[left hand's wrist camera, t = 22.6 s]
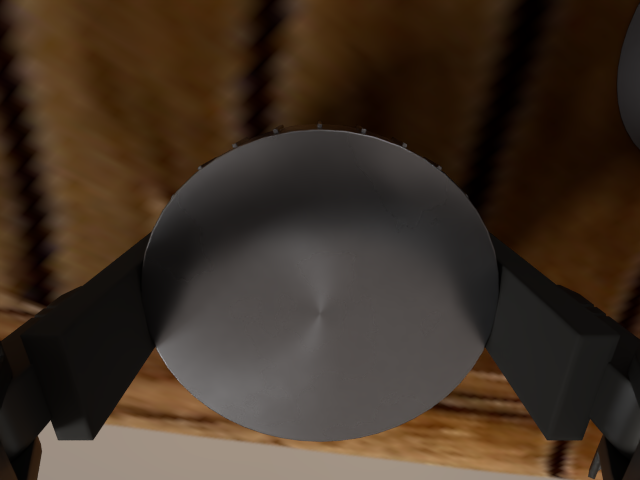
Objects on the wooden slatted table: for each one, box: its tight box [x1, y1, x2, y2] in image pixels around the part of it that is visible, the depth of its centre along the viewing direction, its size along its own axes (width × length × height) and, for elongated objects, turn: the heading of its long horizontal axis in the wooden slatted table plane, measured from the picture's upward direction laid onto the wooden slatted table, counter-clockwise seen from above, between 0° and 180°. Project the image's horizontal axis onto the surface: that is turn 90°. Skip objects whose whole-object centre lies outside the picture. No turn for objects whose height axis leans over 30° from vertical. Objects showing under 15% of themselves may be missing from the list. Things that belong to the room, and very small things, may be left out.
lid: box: [141, 121, 499, 442], centre depth 11 cm, size 10×10×2 cm
